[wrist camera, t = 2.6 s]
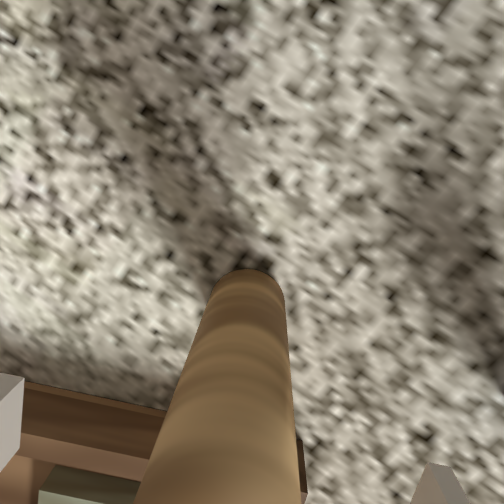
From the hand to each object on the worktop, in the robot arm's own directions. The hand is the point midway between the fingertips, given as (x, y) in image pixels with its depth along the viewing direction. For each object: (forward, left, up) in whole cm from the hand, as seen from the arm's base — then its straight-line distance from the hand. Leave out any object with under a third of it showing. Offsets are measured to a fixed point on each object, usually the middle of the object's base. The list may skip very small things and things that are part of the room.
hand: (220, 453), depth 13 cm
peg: (0, 0, -11) cm, 11 cm away
